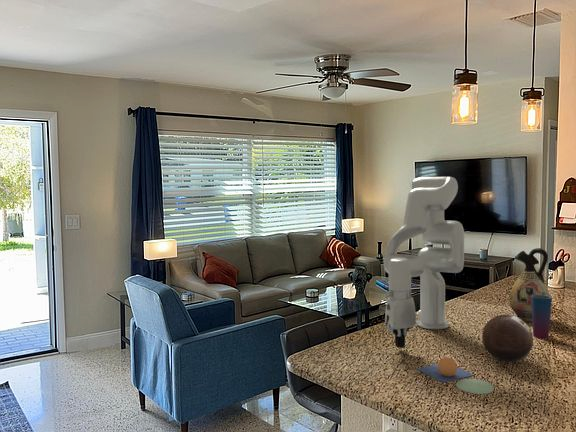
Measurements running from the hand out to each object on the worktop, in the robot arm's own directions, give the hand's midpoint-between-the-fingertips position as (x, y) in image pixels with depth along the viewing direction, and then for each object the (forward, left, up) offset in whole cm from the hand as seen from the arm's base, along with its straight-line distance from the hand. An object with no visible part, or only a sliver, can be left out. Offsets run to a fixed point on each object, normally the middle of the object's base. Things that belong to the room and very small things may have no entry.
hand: (400, 346), depth 174 cm
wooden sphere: (+24, +24, -2) cm, 34 cm away
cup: (+12, +55, -2) cm, 56 cm away
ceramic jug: (-5, +71, -2) cm, 71 cm away
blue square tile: (+22, 0, -2) cm, 22 cm away
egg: (+25, -1, +1) cm, 25 cm away
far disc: (+34, 0, -2) cm, 34 cm away
